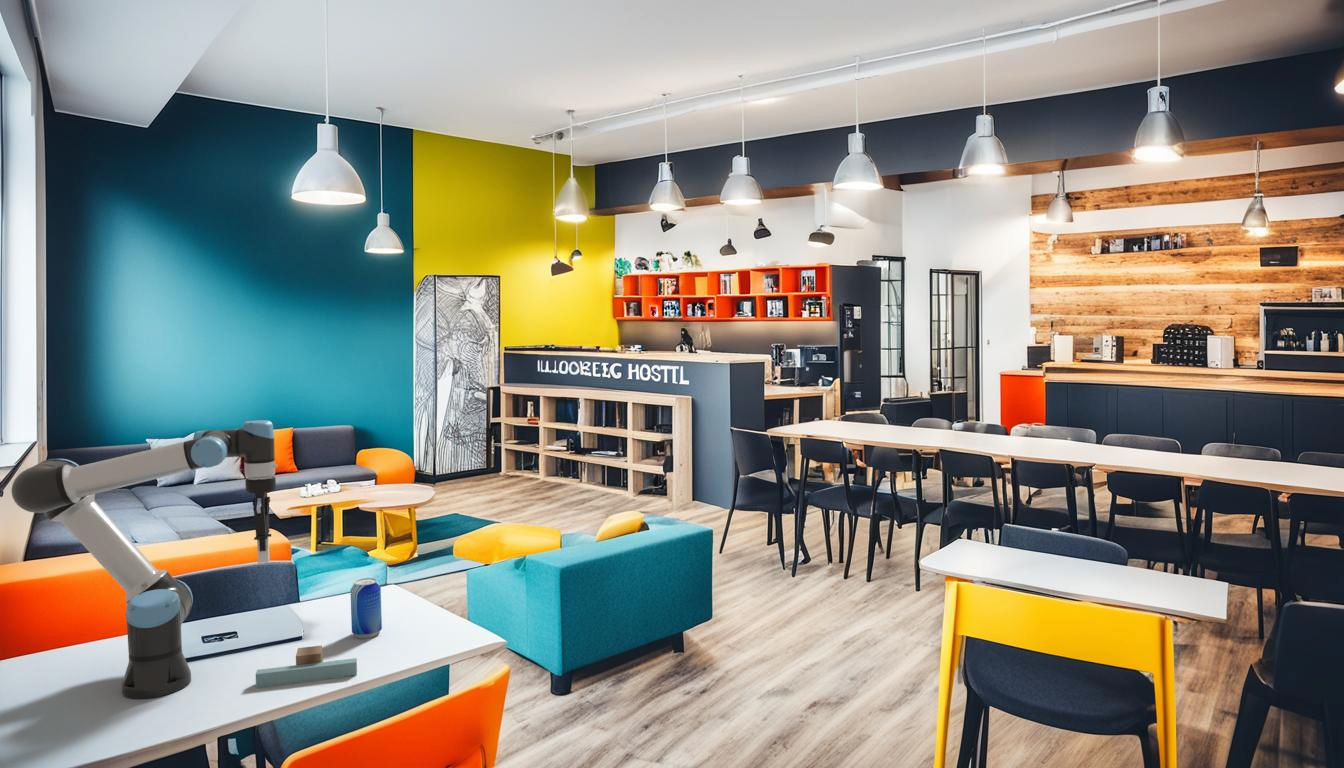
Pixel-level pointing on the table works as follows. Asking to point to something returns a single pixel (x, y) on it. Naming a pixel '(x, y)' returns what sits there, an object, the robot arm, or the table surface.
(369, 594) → the beer can
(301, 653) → the block
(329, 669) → the board
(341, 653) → the table surface
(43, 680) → the table surface
